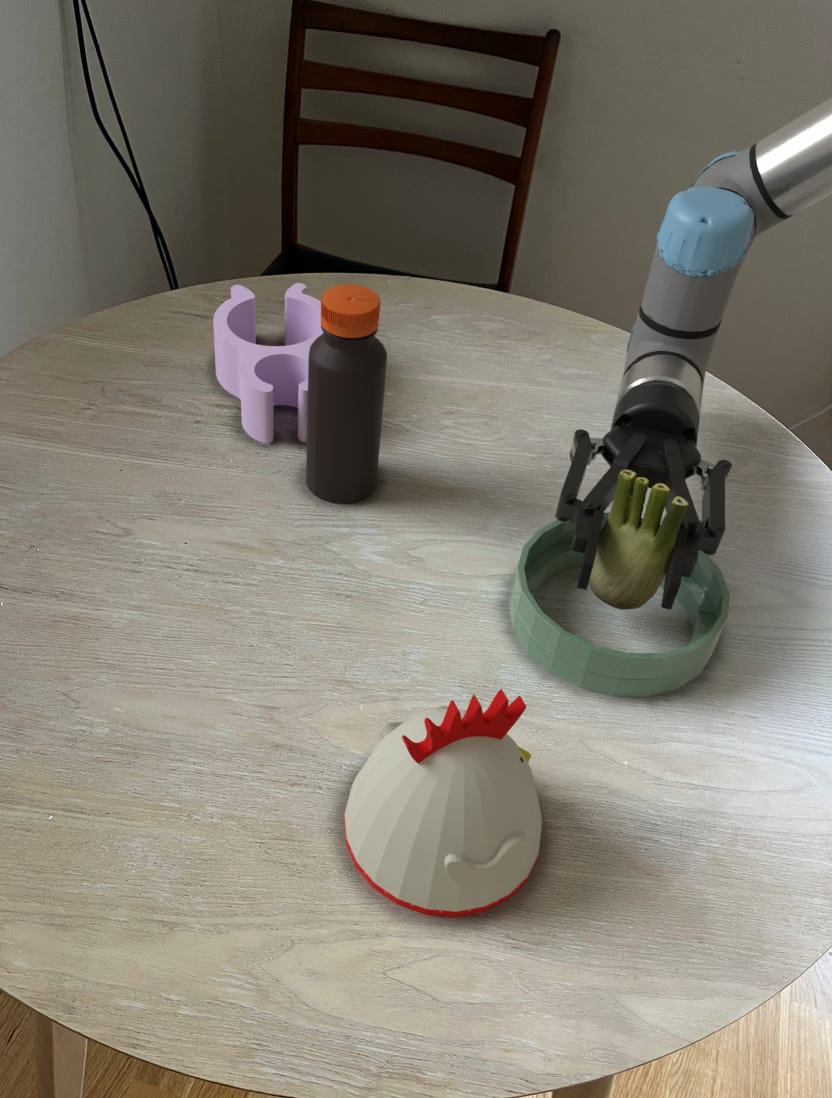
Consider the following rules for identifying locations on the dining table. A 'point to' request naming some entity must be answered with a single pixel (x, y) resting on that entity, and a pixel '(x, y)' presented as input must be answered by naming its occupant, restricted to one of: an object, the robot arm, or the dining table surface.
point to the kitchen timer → (446, 810)
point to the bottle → (345, 397)
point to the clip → (266, 359)
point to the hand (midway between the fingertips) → (627, 585)
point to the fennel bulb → (635, 543)
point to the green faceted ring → (602, 665)
